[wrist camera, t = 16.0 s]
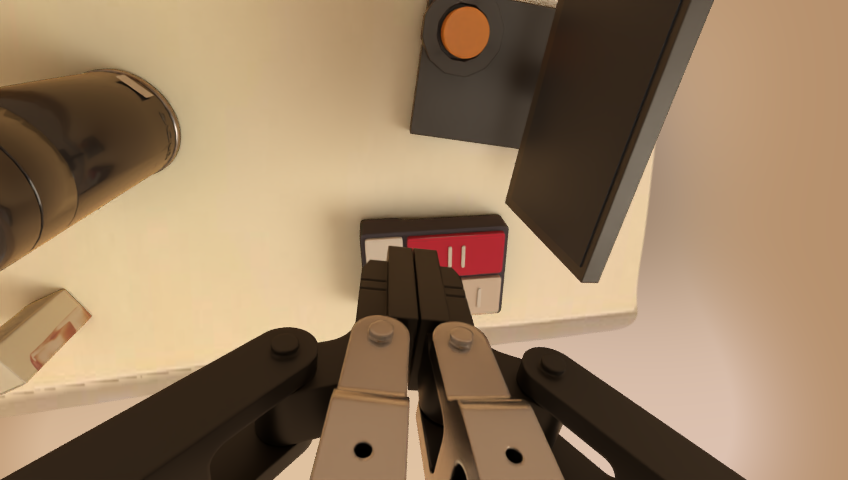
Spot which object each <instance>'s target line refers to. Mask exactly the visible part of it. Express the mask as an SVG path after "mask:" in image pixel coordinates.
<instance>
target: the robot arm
mask: <svg viewBox="0 0 848 480" xmlns="http://www.w3.org/2000/svg"><path fill="white" fill-rule="evenodd" d="M180 140H181V134H180V127H179V123H178V120H177V117H176V115H175V113H174V111H173V109H172V107H171V106H170V104H169V103H168V101H167V100H166V99H165V98H164V96H163V95H162V94H161V93H160V92H159V91H158V90H157V89H156V88H154V87H153V86H152V85H151V84H149V83H148V82H146V81H145V80H143V79H141V78H140V77H138V76H136V75H133V74H131V73H128V72H125V71H121V70H116V69H98V70H93V71H88V72H85V73H82V74H76V75H69V76H63V77H57V78H51V79H45V80H39V81H33V82H27V83H21V84H15V85H9V86H3V87H0V271H2V270H3V269H5V268H6V267H8V266H10V265H11V264H13V263H14V262H16V261H17V260H19V259H21V258H22V257H24V256H25V255H27V254H29V253H30V252H32V251H33V250H35V249H36V248H38V247H40V246H41V245H43V244H44V243H46V242H47V241H49V240H51V239H52V238H54V237H55V236H57V235H58V234H60V233H61V232H63V231H64V230H66V229H67V228H69V227H71V226H72V225H74V224H75V223H77V222H78V221H80V220H82V219H83V218H85V217H86V216H88V215H89V214H91V213H93V212H94V211H96V210H97V209H99V208H100V207H102V206H104V205H105V204H107V203H108V202H110V201H111V200H113V199H115V198H116V197H118V196H119V195H121V194H122V193H124V192H126V191H127V190H129V189H130V188H132V187H133V186H135V185H137V184H138V183H140V182H141V181H143V180H145V179H146V178H148V177H149V176H151V175H152V174H155V173H157V172H159V171H161V170H163V169H164V168H166V167H167V166H168V165H169V164H170V163H171V162H172V161H173V160H174V159H175V157H176V155H177V153H178V150H179V147H180ZM407 381H408V390H418V392H419V402H418V407H417V412H416V420H417V427H418V434H419V440H420V447H421V454H422V460H423V467H424V473H425V480H746V479H745V478H743V477H742V476H740V475H739V474H737V473H736V472H734V471H733V470H732V469H730V468H729V467H727V466H726V465H724V464H723V463H721V462H720V461H718V460H717V459H715V458H714V457H712V456H711V455H710V454H708V453H707V452H705V451H704V450H702V449H701V448H700V447H698V446H696V445H695V444H694V443H692V442H691V441H689V440H688V439H686V438H685V437H684V436H682V435H681V434H679V433H678V432H676V431H675V430H673V429H672V428H670V427H669V426H667V425H666V424H665V423H663V422H662V421H660V420H659V419H657V418H656V417H655V416H653V415H652V414H650V413H649V412H647V411H646V410H644V409H643V408H641V407H640V406H638V405H637V404H635V403H634V402H633V401H631V400H630V399H628V398H627V397H625V396H624V395H623V394H621V393H620V392H618V391H617V390H615V389H614V388H612V387H611V386H609V385H608V384H607V383H605V382H604V381H602V380H601V379H599V378H598V377H596V376H595V375H593V374H592V373H591V372H589V371H588V370H586V369H585V368H583V367H582V366H580V365H579V364H577V363H576V362H574V361H573V360H572V359H570V358H569V357H567V356H566V355H564V354H562V353H560V352H558V351H556V350H553V349H550V348H545V347H535V348H531V349H529V350H528V351H526V352H525V353H524V355H523V358H522V359H520V358H517V357H513V356H510V355H507V354H504V353H501V352H498V351H496V350H494V349H492V348H491V346H490V344H489V342H488V339H487V337H486V336H485V335H484V333H482V332H481V331H480V330H479V329H478V328H476V327H474V323H473V320H472V316H471V312H470V309H469V305H468V301H467V298H466V294H465V290H464V287H463V283H462V279H461V277H460V276H459V275H458V274H457V272H456V271H455V270H454V269H453V268H452V267H442V266H440V263H439V258H438V253H437V250H429V249H419V248H413V250H412V248H409V247H399V246H388V252H387V259H386V261H381V260H371V259H370V260H369V261H368V262H367V263H366V264H365V265H364V266H363V267H362V273H361V282H360V290H359V299H358V307H357V315H356V322H355V324H354V326H353V327H352V330H351V331H350V332H348V333H347V334H346V335H344V336H342V337H340V338H338V339H335V340H330V341H325V342H319V343H317V341H316V339H315V338H314V336H313V335H311V334H310V333H309V332H307V331H305V330H302V329H298V328H292V327H284V328H277V329H273V330H270V331H268V332H266V333H264V334H262V335H260V336H258V337H257V338H255V339H253V340H251V341H249V342H248V343H246V344H244V345H242V346H240V347H239V348H237V349H235V350H233V351H231V352H230V353H228V354H226V355H224V356H222V357H221V358H219V359H217V360H215V361H213V362H212V363H210V364H208V365H206V366H204V367H203V368H201V369H199V370H197V371H195V372H194V373H192V374H190V375H188V376H186V377H185V378H183V379H181V380H179V381H177V382H176V383H174V384H172V385H170V386H168V387H167V388H165V389H163V390H161V391H159V392H158V393H156V394H154V395H152V396H150V397H149V398H147V399H145V400H143V401H141V402H140V403H138V404H136V405H134V406H133V407H131V408H129V409H127V410H125V411H123V412H122V413H120V414H118V415H116V416H114V417H113V418H111V419H109V420H107V421H105V422H104V423H102V424H100V425H98V426H96V427H95V428H93V429H91V430H89V431H88V432H86V433H84V434H82V435H80V436H78V437H77V438H75V439H73V440H71V441H69V442H68V443H66V444H64V445H62V446H60V447H59V448H57V449H55V450H53V451H52V452H50V453H48V454H46V455H44V456H43V457H41V458H39V459H37V460H35V461H33V462H32V463H30V464H28V465H26V466H25V467H23V468H21V469H19V470H17V471H15V472H14V473H12V474H10V475H8V476H7V477H5V478H3V479H1V480H273V479H274V478H275V477H276V476H277V475H279V474H280V473H281V472H282V471H283V470H284V469H285V468H286V467H287V466H289V465H290V464H291V463H292V462H293V461H294V460H295V459H296V458H298V457H299V456H300V455H301V454H302V453H303V452H304V451H305V450H306V449H307V448H308V447H309V445H310V444H311V441H312V439H316V438H319V437H320V442H319V446H318V449H317V453H316V457H315V461H314V465H313V468H312V472H311V476H310V480H406V469H407V448H408V425H409V397H407ZM562 425H565V426H566V427H567V428H568V429H570V430H571V431H572V432H573V433H574V434H576V435H577V436H578V437H579V438H581V439H582V440H583V441H584V442H586V443H587V444H588V445H589V446H590V447H592V448H593V449H594V450H595V451H597V452H598V453H599V454H600V455H602V456H603V457H604V458H605V459H606V460H607V461H608V462H609V463H610V465H611V466H612V468H613V470H614V473H615V478H614V477H611V476H609V475H607V474H606V473H605V472H603V471H602V470H601V469H600V468H598V467H597V466H596V465H595V464H594V463H592V462H591V461H590V460H589V459H588V458H587V457H585V456H584V455H583V454H582V453H581V452H579V451H578V450H577V449H576V448H574V447H573V446H572V445H571V444H570V443H569V442H567V441H566V440H565V439H564V438H563V437H561V436H560V435H559V432H560V429H561V427H562Z"/></svg>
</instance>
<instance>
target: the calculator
mask: <svg viewBox="0 0 848 480" xmlns="http://www.w3.org/2000/svg"><path fill="white" fill-rule="evenodd" d="M508 230H509V229H508V226H507V225H506V223H505V222H504V220H503V219H502V218H501V216H500V215H483V216H465V217H448V218H431V219H414V220H402V219H397V218H390V219H372V220H363V221H361V223H360V247H361V258H362V267H363V266H364V265H365V264H366V263H367V262H368V261H369V260H370V259H371V260H381V261H386V259H387V252H388V246H399V247H409V248H412V250H413V248H419V249H429V250H437V253H438V258H439V263H440V266H442V267H452V268H453V269H454V270H455V271H456V272H457V274H458V275H459V276H460V277H461V279H462V283H463V287H464V290H465V294H466V298H467V301H468V305H469V309H470V312H471V315H479V314H491V313H498V312H500V311H501V304H502V293H503V283H504V272H505V262H506V252H507V241H508Z"/></svg>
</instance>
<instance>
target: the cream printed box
mask: <svg viewBox="0 0 848 480" xmlns="http://www.w3.org/2000/svg"><path fill="white" fill-rule="evenodd" d="M90 318H91V315H90V314H89V313H88V312H87V311H86V310H85V309H84V308H83V307H82V306H81V305H80V304H79V303H78V302H77V301H76V300H75V299H74V298H73V297H72V296H71V295H70V294H69V293H68V292H67V291H66V290H65V289H62V290H60V291H57V292H55V293H53V294H50V295H48V296H46V297H44V298H41V299H39V300H37V301H35V302H33V303H31V304H29V305H27V306H26V307H25V308H23V309H22V310H21V311H20V312H19V313H17V314H16V315H15V316H14V317H12V318H11V319H10V320H9V321H7V322H6V323H5V324H4V325H2V326H1V327H0V395H2V394H5V393H7V392H9V391H12V390H14V389H16V388H18V387H20V386H22V385H24V384H26V383H27V382H28V381H29V380H30V379H31V378H32V377H33V376H34V375H35V374H36V373H37V372H38V371H39V370H40V368H41V367H42V366H43V365H44V364H45V363H47V361H48V360H49V359H50V358H51V357H52V356H53V355H54V354H55V353H56V352H57V351H58V350H59V349H60V348H61V347H62V346H63V345H64V344H65V343H66V342H67V341H68V340H69V339H70V338H71V337H72V336H73V335H74V334H75V333H76V332H77V331H78V330H79V329H80V328H81V327H82V326H83V325H84V324H85V323H86V322H87V321H88V320H89V319H90Z"/></svg>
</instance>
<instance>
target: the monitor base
mask: <svg viewBox="0 0 848 480" xmlns="http://www.w3.org/2000/svg"><path fill="white" fill-rule="evenodd" d="M461 7H474V8H476V9H478V10H480V11H481V12H482V13H483V14H484V15H485V17H486V19H487V21H488V23H489V29H490V34H489V39H488V42H487V45H486V46H485V48H484V49H483V51H482V52H481V53H479V54H478V55H477V56H475V57H472V58H468V59H462V58H458V57H456V56H454V55H452V54H451V53H449V52H448V51H447V50H446V48H445V47H444V45H443V43H442V40H441V27H442V24H443V21H444V19H445V18H446V16H447V15H448V14H449V13H450V12H452V11H453V10H455V9H457V8H461ZM555 10H556V8H551V7H546V6H540V5H535V4H530V3H525V2H519V1H514V0H428V2H427V9H426V12H425V13H424V16H423V23H422V31H421V40H422V45H421V52H420V59H419V67H418V74H417V81H416V88H415V95H414V103H413V110H412V117H411V124H410V133H411V134H417V135H424V136H431V137H438V138H445V139H452V140H460V141H467V142H474V143H481V144H488V145H495V146H502V147H509V148H516V149H519V148H520V144H521V140H522V136H523V132H524V129H525V125H526V121H527V117H528V113H529V109H530V106H531V102H532V98H533V94H534V90H535V87H536V83H537V79H538V75H539V71H540V68H541V64H542V60H543V56H544V52H545V49H546V45H547V41H548V37H549V33H550V30H551V26H552V22H553V18H554V14H555Z"/></svg>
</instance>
